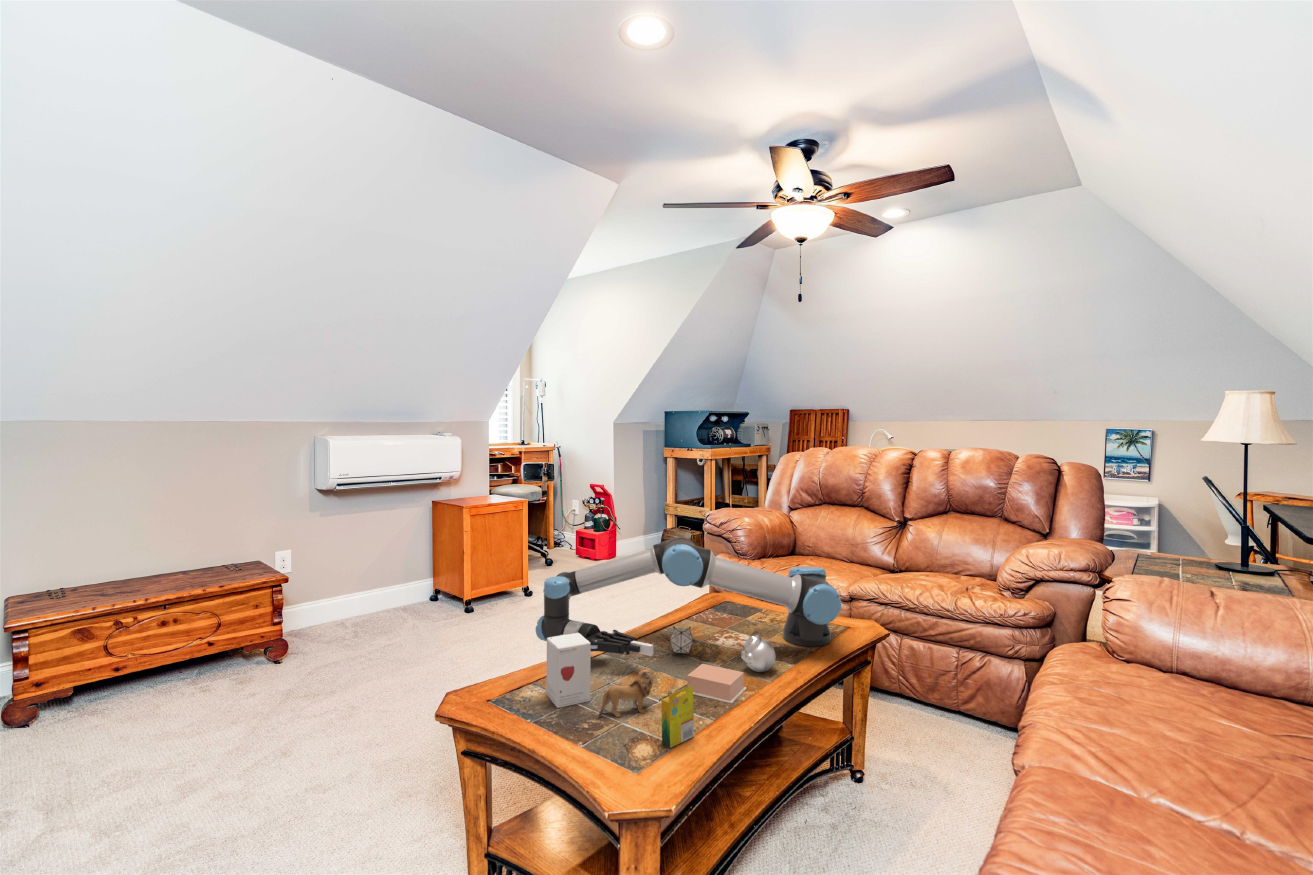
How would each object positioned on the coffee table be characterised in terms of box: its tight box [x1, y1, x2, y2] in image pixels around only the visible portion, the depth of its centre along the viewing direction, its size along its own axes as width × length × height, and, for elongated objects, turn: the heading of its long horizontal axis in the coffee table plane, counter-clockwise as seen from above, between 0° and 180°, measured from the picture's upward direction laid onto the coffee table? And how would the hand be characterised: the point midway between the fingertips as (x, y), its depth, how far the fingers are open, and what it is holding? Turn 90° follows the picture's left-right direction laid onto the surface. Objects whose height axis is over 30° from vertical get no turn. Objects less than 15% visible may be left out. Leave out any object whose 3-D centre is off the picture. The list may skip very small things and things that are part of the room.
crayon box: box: [660, 685, 695, 749], centre depth 136 cm, size 7×3×12 cm, turn 131°
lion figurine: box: [597, 669, 655, 718], centre depth 150 cm, size 15×5×9 cm, turn 119°
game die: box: [667, 625, 697, 656], centre depth 187 cm, size 9×8×10 cm
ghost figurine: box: [740, 634, 776, 673], centre depth 174 cm, size 9×10×10 cm
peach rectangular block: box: [686, 663, 745, 701], centre depth 161 cm, size 4×9×12 cm
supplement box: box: [545, 633, 592, 709], centre depth 157 cm, size 9×9×15 cm
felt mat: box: [693, 686, 747, 704], centre depth 161 cm, size 12×10×1 cm
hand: (651, 650), depth 171 cm, fingers closed
